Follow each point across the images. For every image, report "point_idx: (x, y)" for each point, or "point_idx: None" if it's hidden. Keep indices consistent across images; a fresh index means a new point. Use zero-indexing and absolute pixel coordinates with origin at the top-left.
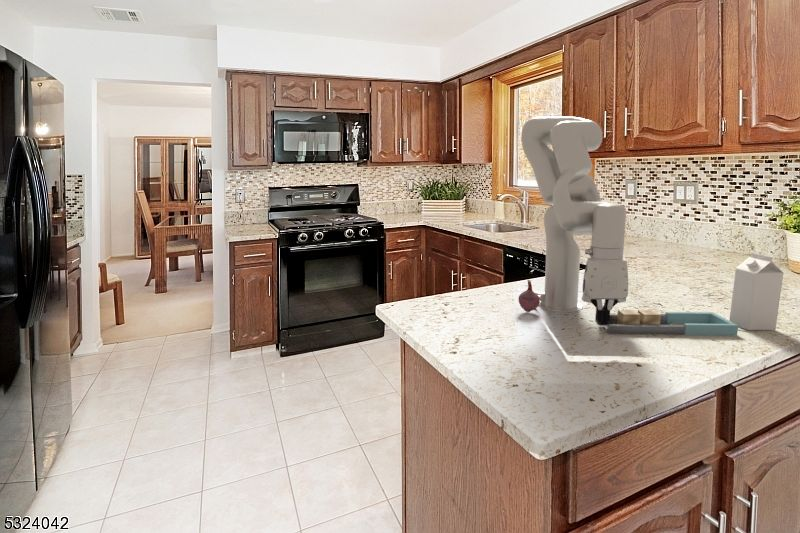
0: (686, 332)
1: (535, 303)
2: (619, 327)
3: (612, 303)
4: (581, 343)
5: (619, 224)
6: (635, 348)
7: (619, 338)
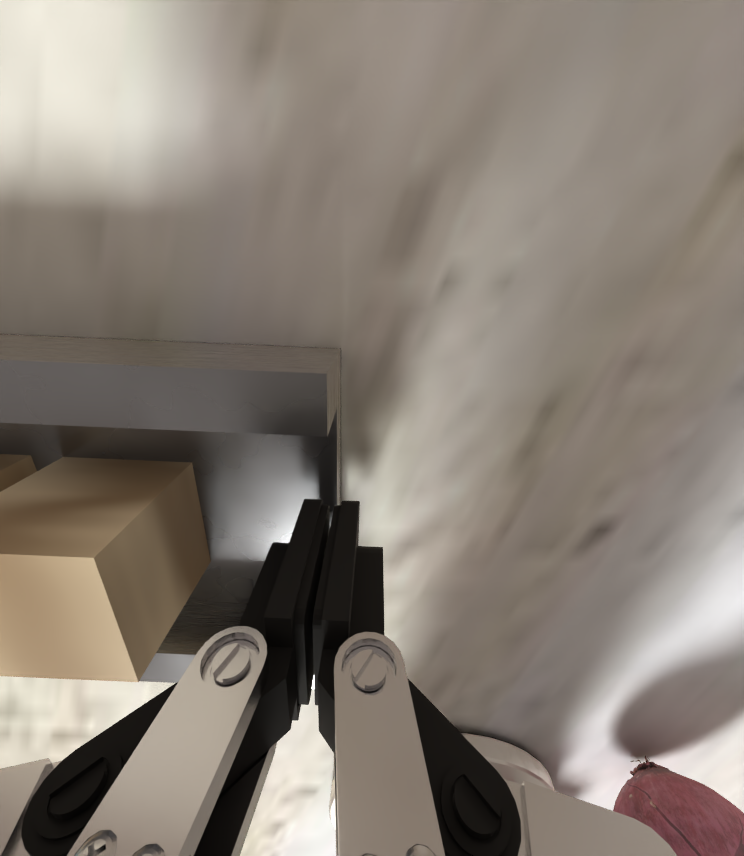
0: None
1: (684, 832)
2: (222, 366)
3: (155, 741)
4: (653, 186)
5: None
6: (171, 4)
7: (257, 331)
